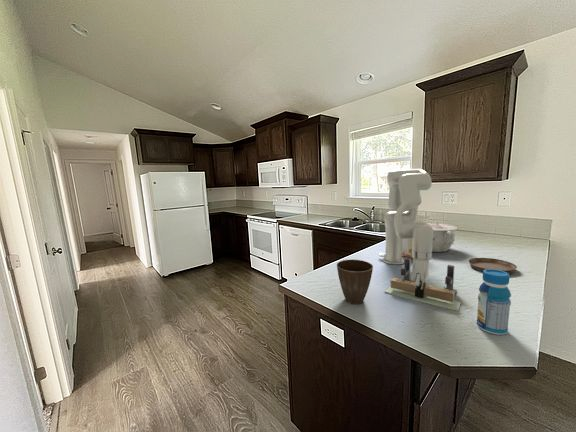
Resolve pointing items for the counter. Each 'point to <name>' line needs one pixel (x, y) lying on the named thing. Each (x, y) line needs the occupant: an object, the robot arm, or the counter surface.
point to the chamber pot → (442, 236)
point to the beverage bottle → (494, 302)
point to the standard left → (406, 269)
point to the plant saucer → (492, 264)
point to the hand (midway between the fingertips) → (420, 294)
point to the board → (424, 299)
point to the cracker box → (407, 247)
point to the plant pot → (354, 279)
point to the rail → (428, 290)
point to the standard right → (450, 278)
